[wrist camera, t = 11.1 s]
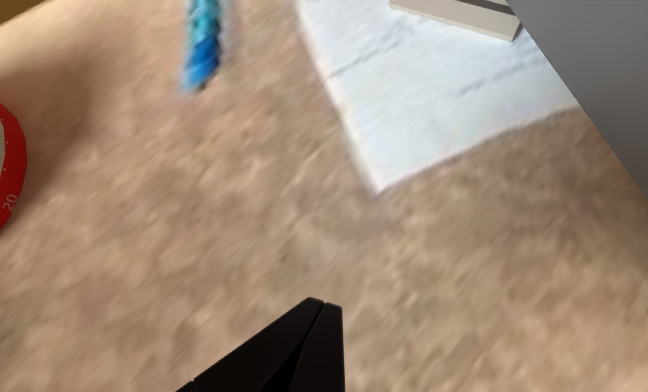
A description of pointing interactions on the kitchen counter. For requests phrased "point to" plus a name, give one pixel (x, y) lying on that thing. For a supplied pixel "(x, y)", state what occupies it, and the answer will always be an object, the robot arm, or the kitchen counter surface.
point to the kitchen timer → (10, 163)
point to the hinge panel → (600, 66)
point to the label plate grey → (466, 14)
